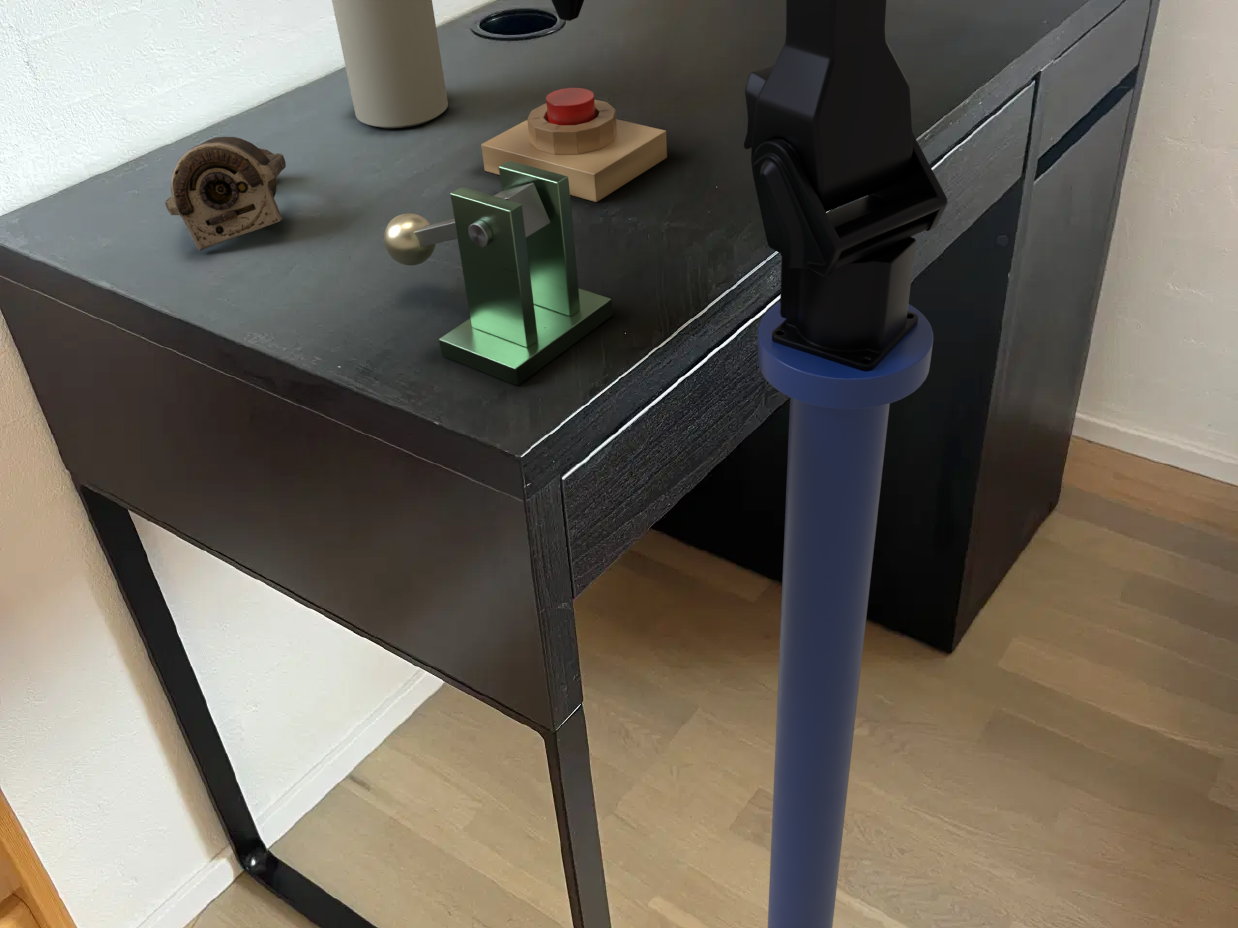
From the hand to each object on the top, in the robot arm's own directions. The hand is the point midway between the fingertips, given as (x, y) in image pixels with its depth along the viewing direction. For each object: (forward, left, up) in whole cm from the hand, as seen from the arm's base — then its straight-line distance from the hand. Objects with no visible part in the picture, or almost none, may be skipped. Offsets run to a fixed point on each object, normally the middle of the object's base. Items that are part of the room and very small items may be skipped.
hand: (568, 19), depth 78 cm
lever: (-7, +19, -7) cm, 21 cm away
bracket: (-11, +19, -12) cm, 25 cm away
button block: (+2, -2, -12) cm, 12 cm away
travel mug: (+22, -3, -12) cm, 26 cm away
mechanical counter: (+18, +17, -12) cm, 28 cm away
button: (+2, -2, -8) cm, 9 cm away
